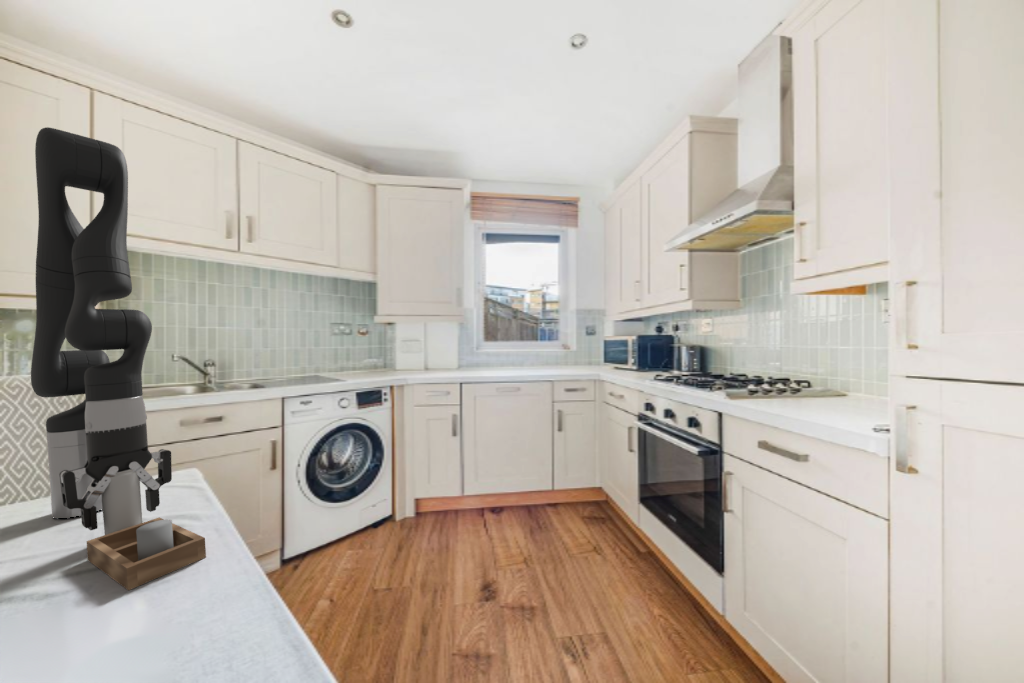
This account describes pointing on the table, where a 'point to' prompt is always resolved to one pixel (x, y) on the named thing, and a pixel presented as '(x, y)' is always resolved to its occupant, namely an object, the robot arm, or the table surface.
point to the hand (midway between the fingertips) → (123, 519)
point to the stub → (154, 538)
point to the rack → (122, 563)
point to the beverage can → (122, 502)
